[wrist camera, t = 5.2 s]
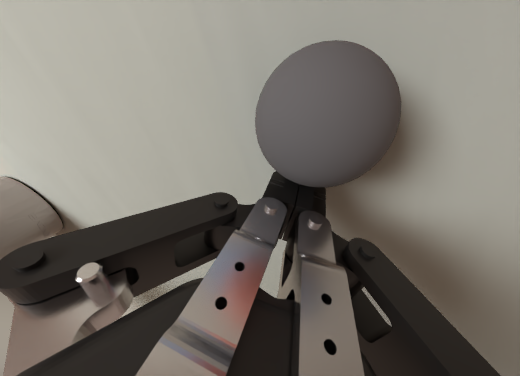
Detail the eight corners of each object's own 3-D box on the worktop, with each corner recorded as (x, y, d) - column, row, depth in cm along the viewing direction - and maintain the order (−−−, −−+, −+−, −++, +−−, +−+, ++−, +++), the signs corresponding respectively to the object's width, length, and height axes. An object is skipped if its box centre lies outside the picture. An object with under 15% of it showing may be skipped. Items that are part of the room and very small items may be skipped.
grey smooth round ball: (221, 91, 5) (292, -12, 7) (238, 179, 10) (277, 106, 12) (442, 167, 4) (453, 29, 6) (341, 221, 9) (364, 136, 11)
